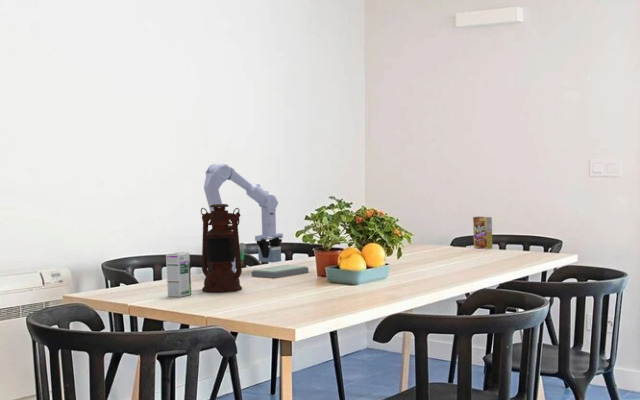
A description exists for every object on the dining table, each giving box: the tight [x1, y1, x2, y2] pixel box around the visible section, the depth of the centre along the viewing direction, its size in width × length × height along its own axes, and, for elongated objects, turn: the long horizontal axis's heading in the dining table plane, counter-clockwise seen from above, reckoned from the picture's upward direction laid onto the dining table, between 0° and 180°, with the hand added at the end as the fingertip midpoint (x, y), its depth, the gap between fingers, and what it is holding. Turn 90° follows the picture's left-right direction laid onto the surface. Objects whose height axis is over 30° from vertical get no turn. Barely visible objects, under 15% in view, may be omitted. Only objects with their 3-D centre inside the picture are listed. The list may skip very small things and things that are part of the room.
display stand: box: [251, 264, 310, 279], centre depth 353 cm, size 20×12×2 cm, turn 140°
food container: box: [235, 242, 247, 270], centre depth 381 cm, size 12×6×10 cm, turn 143°
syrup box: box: [165, 251, 192, 298], centre depth 303 cm, size 6×6×14 cm
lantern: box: [200, 203, 243, 294], centre depth 313 cm, size 17×14×30 cm
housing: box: [257, 245, 282, 263], centre depth 367 cm, size 5×8×6 cm, turn 50°
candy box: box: [472, 216, 493, 250], centre depth 434 cm, size 9×4×15 cm, turn 35°
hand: (269, 257), depth 367 cm, fingers closed on housing, 5 cm apart
